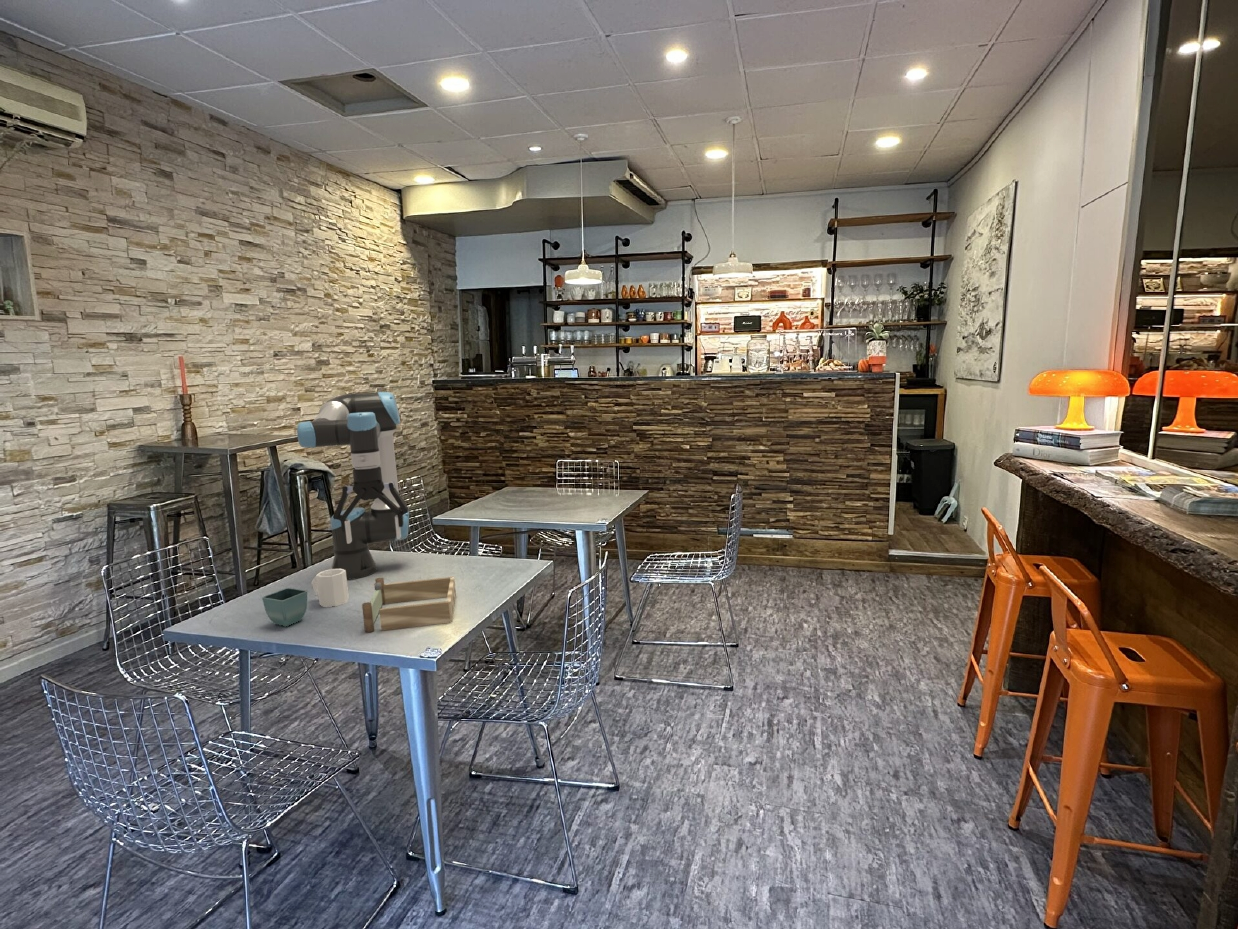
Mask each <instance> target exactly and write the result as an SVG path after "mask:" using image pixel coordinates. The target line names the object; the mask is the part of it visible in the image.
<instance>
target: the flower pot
mask: <svg viewBox="0 0 1238 929" xmlns="http://www.w3.org/2000/svg"><path fill="white" fill-rule="evenodd" d="M261 599H262V603H263V606H264V610H265V613H266V615H267V617H268V618H269V620H270V621H271V622H272V623H273V624H274V623H275V624H279V625H278V626H281V625H283V626H282V627H286V626H287V627H289V626H288V625H290V626H291V624H292V625H293V623H294V624H296V622H297V623H299V622H301V621H302V620H303V618H304V616H305V614H306V611H307V608H308V590H306V589H305V590H304V589H297V588H291V587H285V588H284V589H280V590H278V591H275V592H273V593H271V594H268V595H265V596H262V597H261ZM298 621H299V622H298ZM275 624H274V625H275Z"/></svg>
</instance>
